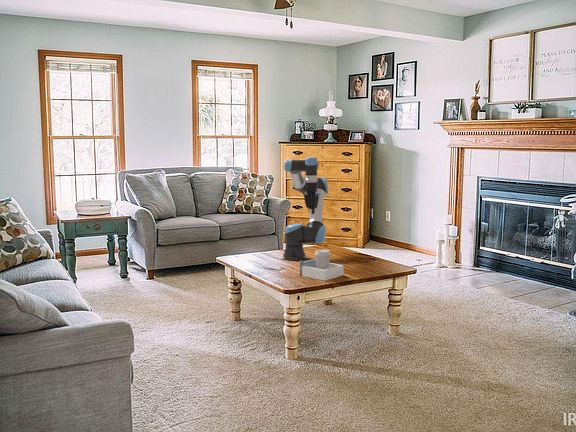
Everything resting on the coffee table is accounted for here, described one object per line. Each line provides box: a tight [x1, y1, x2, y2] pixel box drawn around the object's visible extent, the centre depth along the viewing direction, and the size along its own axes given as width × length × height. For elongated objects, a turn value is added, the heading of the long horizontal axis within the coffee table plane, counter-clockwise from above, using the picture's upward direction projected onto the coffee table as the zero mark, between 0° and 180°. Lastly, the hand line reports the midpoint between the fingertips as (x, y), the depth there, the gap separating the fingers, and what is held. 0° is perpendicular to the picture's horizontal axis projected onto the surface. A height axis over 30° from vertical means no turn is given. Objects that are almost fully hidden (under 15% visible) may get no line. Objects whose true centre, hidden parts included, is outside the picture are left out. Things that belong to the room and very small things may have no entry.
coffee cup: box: [314, 248, 332, 270], centre depth 335 cm, size 10×10×15 cm
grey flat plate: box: [302, 258, 317, 268], centre depth 342 cm, size 13×1×7 cm, turn 136°
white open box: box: [299, 260, 344, 282], centre depth 336 cm, size 19×18×9 cm
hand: (311, 218), depth 362 cm, fingers closed
